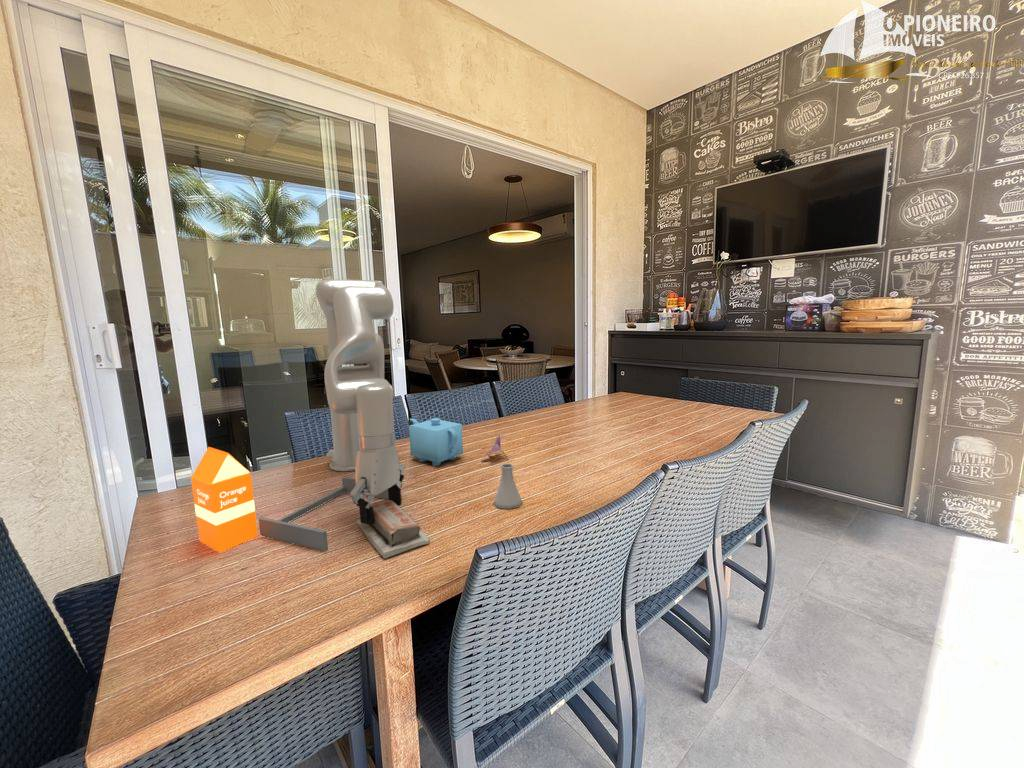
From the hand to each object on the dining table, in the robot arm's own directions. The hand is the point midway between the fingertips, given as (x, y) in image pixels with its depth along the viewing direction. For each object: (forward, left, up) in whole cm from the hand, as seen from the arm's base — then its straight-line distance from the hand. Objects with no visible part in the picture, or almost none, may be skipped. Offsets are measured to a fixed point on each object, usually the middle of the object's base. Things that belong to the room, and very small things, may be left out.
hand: (381, 513), depth 96 cm
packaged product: (+4, -3, -3) cm, 6 cm away
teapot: (-13, +44, -3) cm, 46 cm away
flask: (+23, +20, -3) cm, 30 cm away
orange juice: (-27, -16, -3) cm, 32 cm away
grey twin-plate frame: (-13, 0, -3) cm, 14 cm away
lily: (+7, +50, -3) cm, 50 cm away
